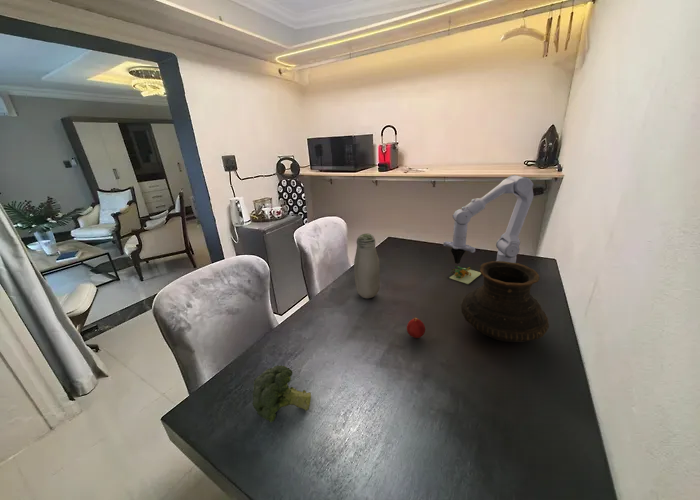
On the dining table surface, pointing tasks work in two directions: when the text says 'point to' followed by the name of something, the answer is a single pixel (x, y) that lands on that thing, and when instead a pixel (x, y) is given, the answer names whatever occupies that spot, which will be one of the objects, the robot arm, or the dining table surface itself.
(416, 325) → the onion
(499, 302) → the ceramic pot
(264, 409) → the vegetable
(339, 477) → the dining table surface
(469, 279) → the felt mat
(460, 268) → the figurine
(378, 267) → the glass bottle
